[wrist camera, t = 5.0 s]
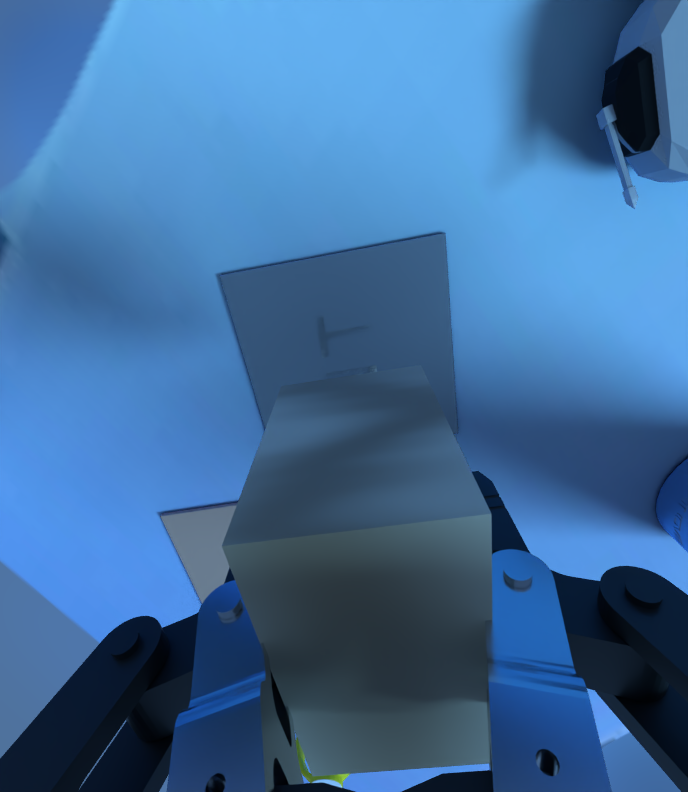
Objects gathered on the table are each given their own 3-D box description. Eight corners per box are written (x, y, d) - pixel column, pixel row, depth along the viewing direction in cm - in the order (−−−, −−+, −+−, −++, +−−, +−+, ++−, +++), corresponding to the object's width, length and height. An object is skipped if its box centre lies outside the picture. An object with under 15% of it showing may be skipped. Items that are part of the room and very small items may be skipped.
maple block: (420, 365, 11) (491, 513, 6) (437, 548, 14) (493, 763, 9) (281, 385, 11) (221, 546, 6) (325, 561, 14) (312, 776, 9)
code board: (444, 232, 21) (445, 232, 20) (457, 431, 26) (458, 433, 25) (220, 274, 21) (219, 275, 21) (275, 459, 26) (274, 461, 26)
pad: (300, 493, 28) (299, 496, 27) (327, 592, 32) (327, 595, 31) (162, 513, 28) (160, 516, 28) (206, 607, 32) (205, 611, 32)
